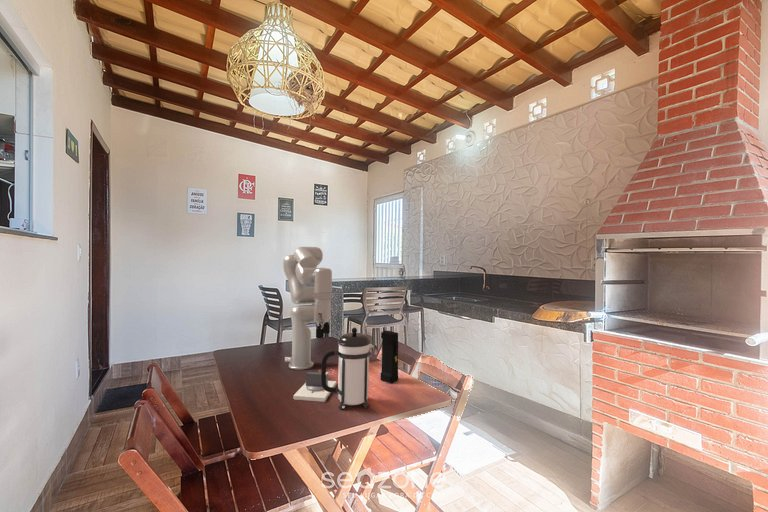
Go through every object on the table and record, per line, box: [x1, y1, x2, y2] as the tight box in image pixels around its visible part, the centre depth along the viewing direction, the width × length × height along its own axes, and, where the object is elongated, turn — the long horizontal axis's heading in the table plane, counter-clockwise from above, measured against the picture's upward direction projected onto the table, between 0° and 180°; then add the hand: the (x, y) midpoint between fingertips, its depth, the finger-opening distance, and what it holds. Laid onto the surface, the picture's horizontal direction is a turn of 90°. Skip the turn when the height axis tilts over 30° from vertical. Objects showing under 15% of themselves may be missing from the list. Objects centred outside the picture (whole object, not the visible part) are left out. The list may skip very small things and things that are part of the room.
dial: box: [305, 371, 329, 391], centre depth 146 cm, size 9×9×6 cm
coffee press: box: [321, 327, 374, 411], centre depth 134 cm, size 17×16×30 cm
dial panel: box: [292, 380, 337, 403], centre depth 145 cm, size 13×18×2 cm
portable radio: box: [380, 325, 399, 384], centre depth 159 cm, size 8×6×25 cm
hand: (322, 335), depth 149 cm, fingers open, 9 cm apart
